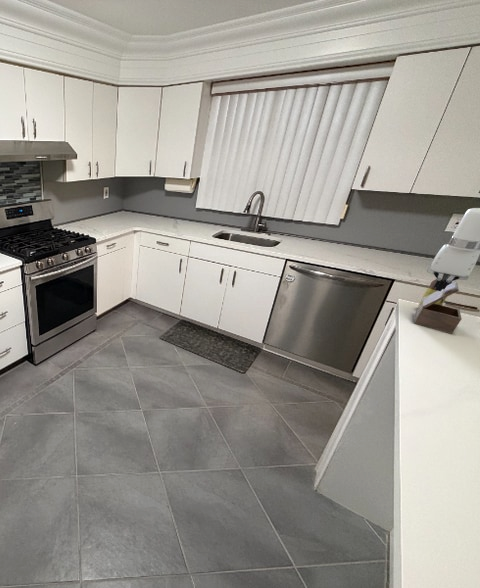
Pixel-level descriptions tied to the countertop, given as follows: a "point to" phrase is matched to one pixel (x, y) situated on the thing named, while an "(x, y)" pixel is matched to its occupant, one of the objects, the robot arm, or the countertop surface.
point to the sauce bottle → (432, 290)
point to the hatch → (440, 295)
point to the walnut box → (438, 317)
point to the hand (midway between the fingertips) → (437, 289)
